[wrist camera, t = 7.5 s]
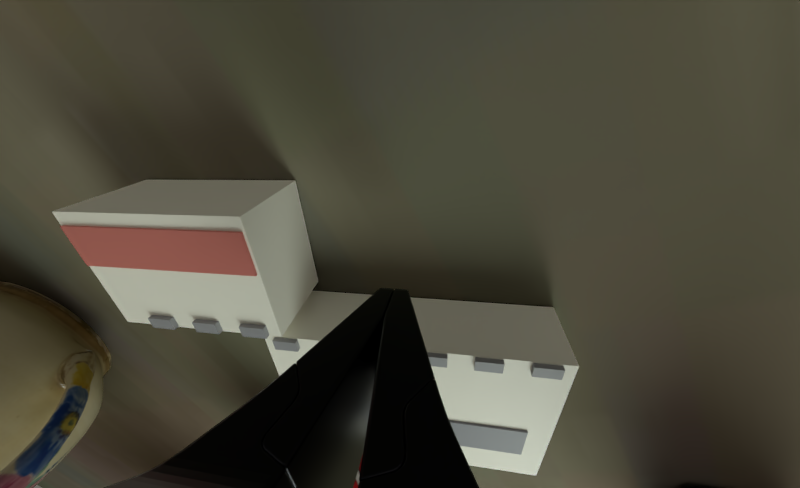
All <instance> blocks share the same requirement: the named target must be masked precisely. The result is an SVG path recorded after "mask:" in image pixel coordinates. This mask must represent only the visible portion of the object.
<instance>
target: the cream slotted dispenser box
mask: <svg viewBox="0 0 800 488" xmlns="http://www.w3.org/2000/svg"><path fill="white" fill-rule="evenodd" d="M371 296H372V295H370V294H355V293H341V292H327V291H312V292H311V293H310V295H309V296H308V298H307V300H306V301H305V303H304V304H303V306H302V307H301V309H300V310H299V312H298V313H297V315H296V316H295V318H294V319H293V321H292V322H291V324H290V325H289V327H288V328H287V330H286V331H285V333H284V334H283V336H282V337H277V336H268V338H267V339H265V341H266V343H267V346H268V348H269V351H270V353H271V356H272V359H273V361H274V364H275V366H276V369H277V371H278V374H279V376H280V375H281V374H282V373H284V372H285V371H286V370H287V369H288V368H289V367H290V366H292V365H293V364H294V363H295V364H296V362H297V360H299V359H300V358H301V357H302V356H303V355H304V354H305V353H307V352H308V351H309V350H310V349H311V348H312V347H313V346H315V345H316V344H317V343H318V342H319V341H320V340H321V339H323V338H324V337H325V336H326V335H327V334H328V333H329V332H331V331H332V330H333V329H334V328H335V327H336V326H337V325H339V324H340V323H341V322H342V321H343V320H344V319H345V318H347V317H348V316H349V315H350V314H351V313H352V312H353V311H355V310H356V309H357V308H358V307H359V306H360V305H361V304H363V303H364V302H365V301H366V300H367V299H368V298H369V297H371ZM410 298H411V301H412V304H413V307H414V311H415V314H416V317H417V321H418V324H419V327H420V331H421V334H422V337H423V341H424V344H425V347H426V350H427V354H428V357H429V360H430V364H431V367H432V370H433V374H434V377H435V380H436V383H437V386H438V390H439V393H440V396H441V399H442V402H443V405H444V408H445V411H446V414H447V416H448V419H449V421H450V423H451V426H452V428H453V431H454V433H455V435H456V438H457V440H458V442H459V445H460V447H461V449H462V451H463V453H464V456H465V458H466V460H467V462H468V464H469V465H471V466H478V467H484V468H490V469H497V470H503V471H509V472H516V473H522V474H528V475H535V476H536V475H537V472H538V470H539V467H540V464H541V462H542V459H543V457H544V454H545V452H546V449H547V447H548V444H549V442H550V439H551V437H552V434H553V432H554V429H555V426H556V424H557V421H558V419H559V416H560V414H561V411H562V409H563V406H564V404H565V401H566V399H567V396H568V394H569V391H570V388H571V386H572V383H573V381H574V378H575V376H576V373H577V371H578V368H579V365H578V362H577V360H576V358H575V355H574V353H573V351H572V348H571V346H570V344H569V342H568V339H567V337H566V335H565V332H564V330H563V328H562V325H561V323H560V321H559V318H558V316H557V314H556V311H555V309H554V307H542V306H528V305H513V304H499V303H485V302H470V301H456V300H442V299H427V298H413V297H410Z"/></svg>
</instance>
